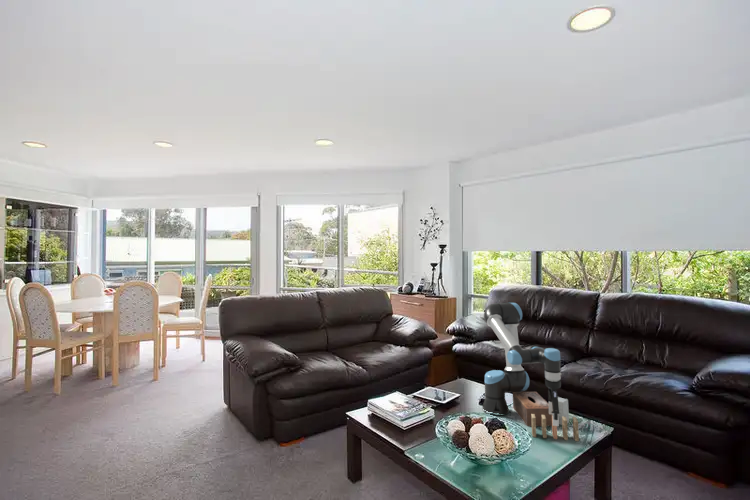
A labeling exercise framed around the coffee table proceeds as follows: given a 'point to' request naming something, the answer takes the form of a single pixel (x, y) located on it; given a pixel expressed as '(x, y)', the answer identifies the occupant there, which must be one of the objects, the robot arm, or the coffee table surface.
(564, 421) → the domino
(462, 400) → the coffee table surface
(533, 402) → the tissue box cover
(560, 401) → the small box
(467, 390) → the coffee table surface
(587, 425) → the coffee table surface
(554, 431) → the terracotta domino
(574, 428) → the domino
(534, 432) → the domino
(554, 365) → the robot arm
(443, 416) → the coffee table surface
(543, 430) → the domino
